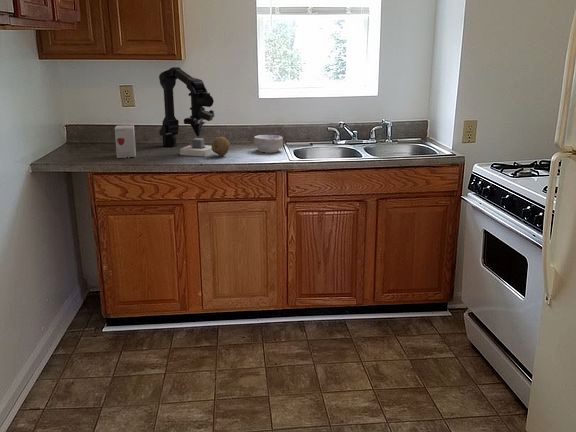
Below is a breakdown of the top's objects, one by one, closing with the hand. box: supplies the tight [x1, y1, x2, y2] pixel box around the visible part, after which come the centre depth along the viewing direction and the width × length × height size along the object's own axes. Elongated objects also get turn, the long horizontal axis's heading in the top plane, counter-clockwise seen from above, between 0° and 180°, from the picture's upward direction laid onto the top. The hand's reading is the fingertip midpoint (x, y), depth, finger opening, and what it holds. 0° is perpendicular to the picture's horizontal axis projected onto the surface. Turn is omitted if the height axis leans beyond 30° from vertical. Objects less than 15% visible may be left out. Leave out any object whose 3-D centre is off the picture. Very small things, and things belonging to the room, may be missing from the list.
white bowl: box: [253, 134, 284, 154], centre depth 293 cm, size 15×15×8 cm
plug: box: [191, 137, 205, 149], centre depth 286 cm, size 5×4×6 cm
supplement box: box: [114, 124, 137, 159], centre depth 276 cm, size 9×9×15 cm
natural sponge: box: [211, 136, 231, 157], centre depth 279 cm, size 9×9×10 cm
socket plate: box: [179, 143, 216, 157], centre depth 287 cm, size 14×14×4 cm
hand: (198, 136), depth 284 cm, fingers closed
